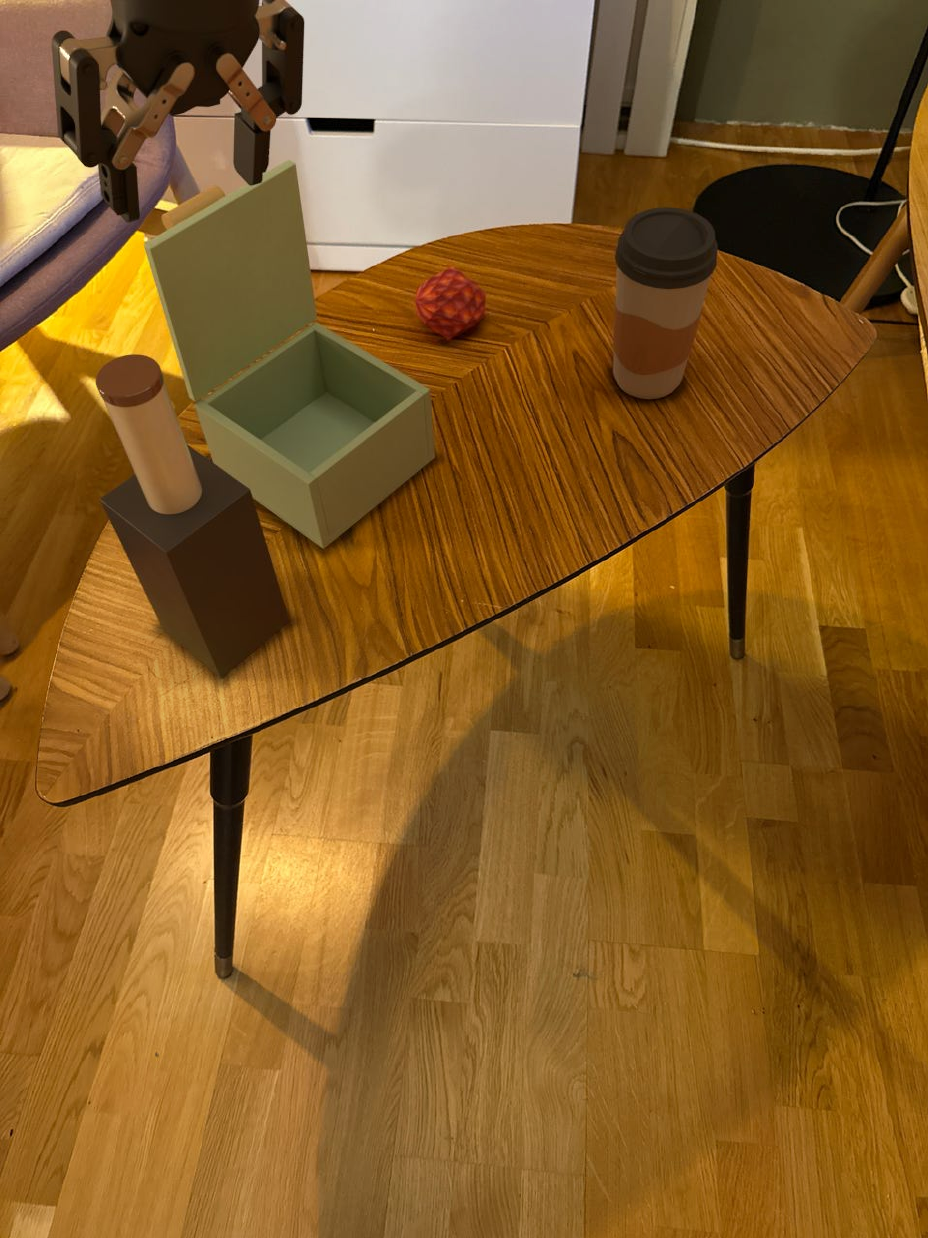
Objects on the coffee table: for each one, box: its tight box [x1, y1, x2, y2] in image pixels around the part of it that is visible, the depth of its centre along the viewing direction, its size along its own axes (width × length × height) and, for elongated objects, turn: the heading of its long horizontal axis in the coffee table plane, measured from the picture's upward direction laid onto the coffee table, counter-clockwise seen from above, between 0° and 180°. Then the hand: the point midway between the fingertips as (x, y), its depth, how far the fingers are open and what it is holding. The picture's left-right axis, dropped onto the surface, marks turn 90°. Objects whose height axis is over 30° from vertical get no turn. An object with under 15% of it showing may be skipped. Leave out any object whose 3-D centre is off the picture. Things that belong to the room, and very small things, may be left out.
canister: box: [95, 353, 202, 514], centre depth 60 cm, size 4×4×10 cm
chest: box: [193, 321, 436, 550], centre depth 83 cm, size 14×14×8 cm
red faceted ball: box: [414, 265, 487, 341], centre depth 95 cm, size 6×7×8 cm
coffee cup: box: [612, 206, 719, 400], centre depth 86 cm, size 8×8×15 cm
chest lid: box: [143, 159, 318, 403], centre depth 77 cm, size 14×14×5 cm
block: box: [99, 443, 291, 680], centre depth 71 cm, size 7×7×15 cm
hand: (188, 194), depth 60 cm, fingers open, 8 cm apart
